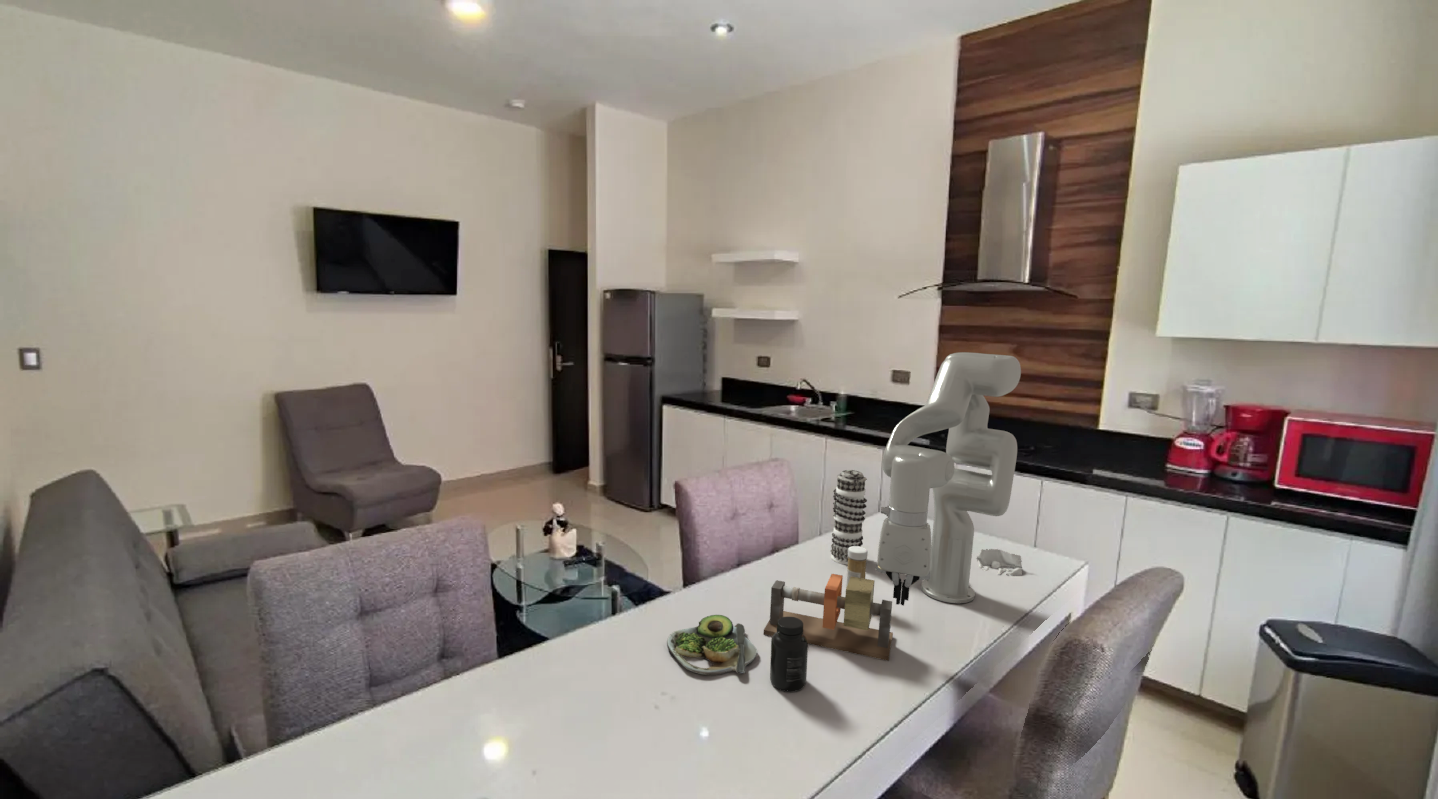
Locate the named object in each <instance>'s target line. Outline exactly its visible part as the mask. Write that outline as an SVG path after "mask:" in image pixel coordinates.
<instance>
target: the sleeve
mask: <svg viewBox="0 0 1438 799" xmlns="http://www.w3.org/2000/svg"><path fill="white" fill-rule="evenodd" d="M874 592H875V579H874V580H873V579H870V578H865V579H864V578H858V577H852V576H851V577H850V580H849V582H848V585H847V588H846V587H845V596H844V597H845V609H843V610H844V613H843V623H844V625H843V626H847V627H852V628H857V629H862V630H867V631H868V629H869V628H870V624H871V620H872V618H873V615H872V614H870V607H871V602H873V603H874Z"/></svg>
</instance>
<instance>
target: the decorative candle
mask: <svg viewBox="0 0 1438 799" xmlns="http://www.w3.org/2000/svg"><path fill="white" fill-rule="evenodd" d="M836 478H837V481H836V486H835V489H834V490H833V496H832V498H833V500H834V502H833V503H832V504H833V507H832V510H833V513H834V514H833V519H834V526H833V532H832V534H831V535H832V538H831V545H830V548H831V550H830V559H831V560H832V561H833V562H836V563H837V564H841V565H846V566H848V548H849V547H851V546H860V547H862V546H863V544H864V542H863V540H864V536H863V523H864V521H865V520H866V518H865V516H864V515H866V512H865V510H864V509H866V508H867V505H866V504H865V503H867V502H868V499H867V498H866V497H865V495H866V488H865V486H866V481H868V479H867V477H865V476H864V474H863V473H862V472H861V471H859V470H855V469H854V470H853V469H846V470H842V471H841V472H840V473H839V474H837V475H836Z"/></svg>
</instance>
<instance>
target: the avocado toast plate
mask: <svg viewBox="0 0 1438 799" xmlns="http://www.w3.org/2000/svg"><path fill="white" fill-rule="evenodd" d="M745 632H746V629H745V626H744V625H743V624H742V623H736V624H735V625H734V624H733V621H732V620H731V619H730V618H729V617H728V616H725V615H724V614H711V615H708V616H705V617H703V618H702V619H701V620H700V621H698V626H693V627H688V628H682V629H678V630H675V631H673V632H671V633H670V634H669V636H668V638H667V640H666V646H667V649H668V652H669V653H670V654H671V655H672V656H674V658H675V659H676V661H677V662H678V663H679V664H681V665H682V667H684V668H685V669H686V670H688V671H690V672H692V673H694V674H699V675H702V676H718V675H723V674H726V673H731V672H736V673H737V674H739V675H740V674H741V675H742V674H746V667H747V665H749V664H750V663H752V662H753V661H754V660H755V658H756V656H757V655H758V650H757V647H756V646H755V645H754V643H753V642H751V640H749V638H747V636H746V635H745ZM684 657H686V658H700V659H701V658H703V659H705V660H707V661H709V662H708V663H710V664H713V665H711V666H709V667H706V668H705V667H699V666H697V665H693V664H692V663H690V662H689V661H687V660H686V658H684Z"/></svg>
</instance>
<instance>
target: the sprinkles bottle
mask: <svg viewBox="0 0 1438 799" xmlns="http://www.w3.org/2000/svg"><path fill="white" fill-rule="evenodd" d="M868 555H869V554H868V549H867V548H865V547H863V546H861V547H860V546H851V547H849V548H848V565H847V568H846V581H845V582H846V584H845V589H846V588H847V585H848V582H849V580H850V577H851V576H852V577H858V578H864V579H866V571H867V569H866V568H867V561H868V560H867V559H868Z"/></svg>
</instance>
